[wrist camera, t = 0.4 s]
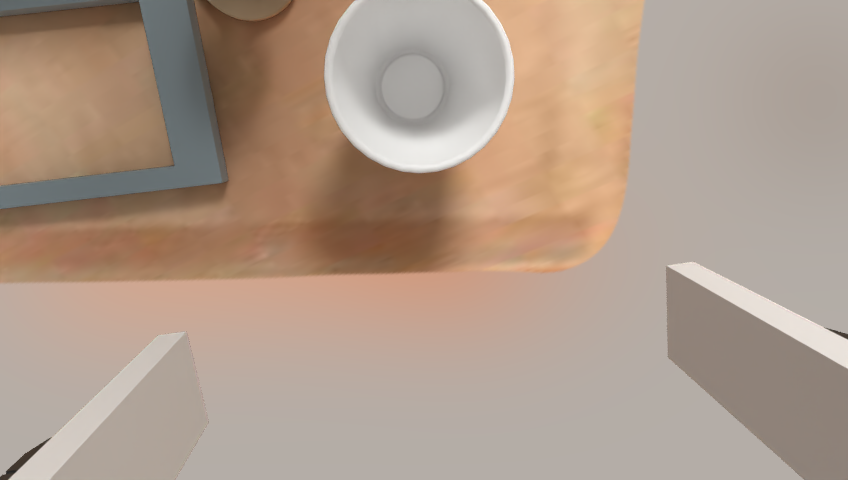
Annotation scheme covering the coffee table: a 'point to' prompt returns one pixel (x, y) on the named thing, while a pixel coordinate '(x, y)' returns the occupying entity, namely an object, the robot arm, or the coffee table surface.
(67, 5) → the blue-grey u-shaped bracket
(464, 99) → the cup
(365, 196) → the coffee table surface
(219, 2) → the bobbin
